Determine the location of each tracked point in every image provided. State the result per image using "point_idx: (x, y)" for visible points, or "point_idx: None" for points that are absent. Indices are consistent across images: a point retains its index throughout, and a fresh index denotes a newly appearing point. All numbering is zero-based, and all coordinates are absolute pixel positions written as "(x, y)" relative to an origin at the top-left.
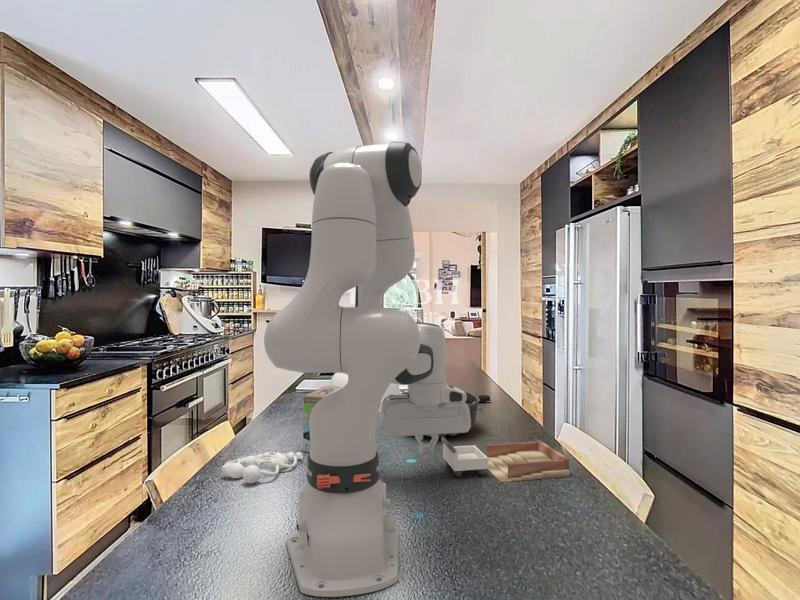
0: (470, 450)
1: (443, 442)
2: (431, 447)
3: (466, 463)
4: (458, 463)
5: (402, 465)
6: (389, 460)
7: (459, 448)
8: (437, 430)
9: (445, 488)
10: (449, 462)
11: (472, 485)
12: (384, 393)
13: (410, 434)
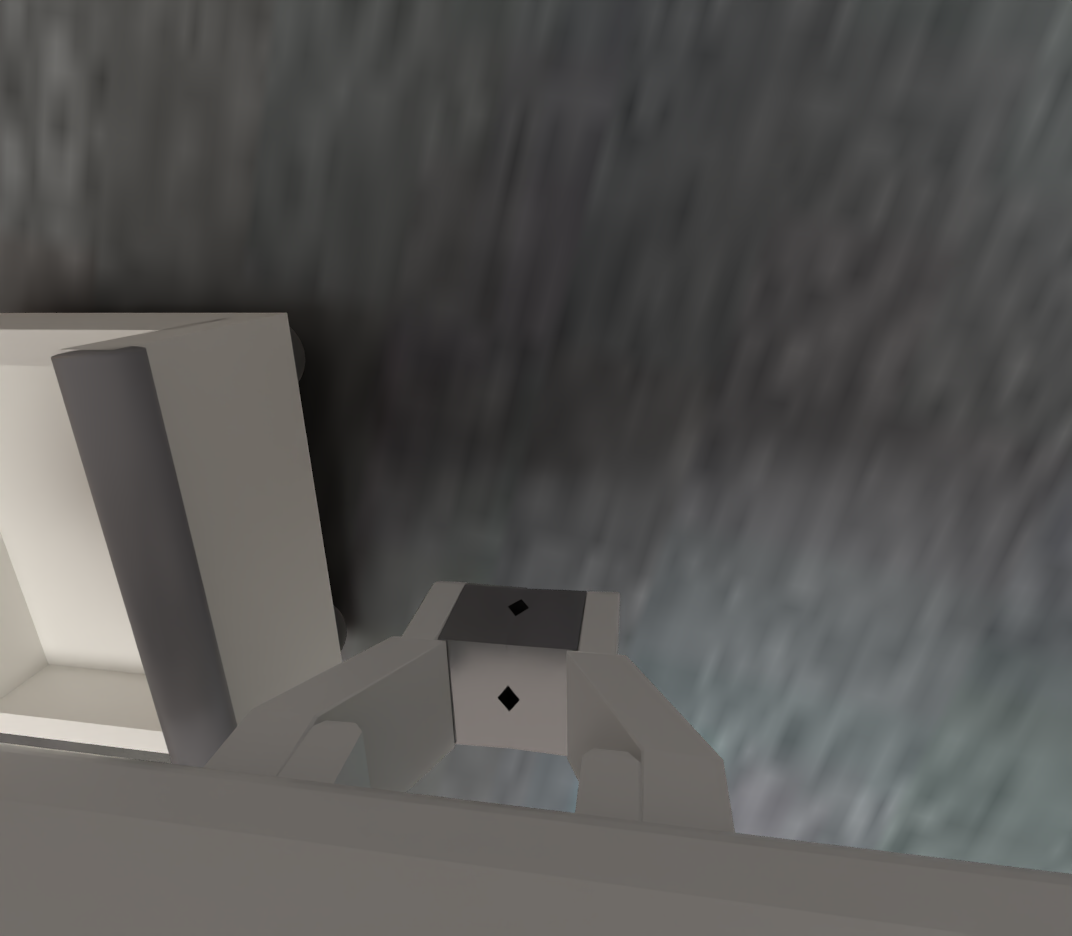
0: (50, 684)
1: None
2: (448, 625)
3: (93, 324)
4: (182, 323)
5: (739, 722)
6: None
7: (132, 715)
8: (123, 841)
9: (465, 71)
10: (299, 502)
11: (176, 111)
12: None
13: (1034, 890)
